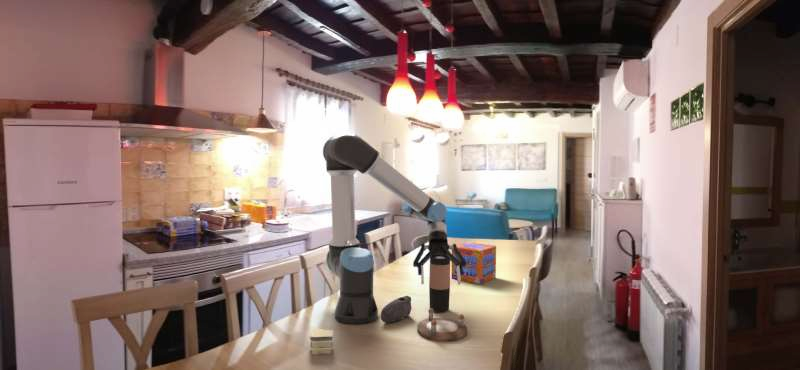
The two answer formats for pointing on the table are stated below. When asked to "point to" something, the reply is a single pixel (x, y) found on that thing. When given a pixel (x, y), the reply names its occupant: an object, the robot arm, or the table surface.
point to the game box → (476, 262)
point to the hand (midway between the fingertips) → (441, 282)
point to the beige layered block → (321, 341)
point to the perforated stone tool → (396, 309)
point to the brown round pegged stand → (442, 328)
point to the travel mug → (439, 283)
